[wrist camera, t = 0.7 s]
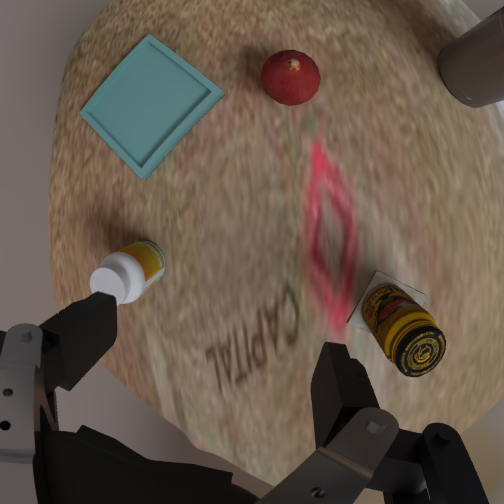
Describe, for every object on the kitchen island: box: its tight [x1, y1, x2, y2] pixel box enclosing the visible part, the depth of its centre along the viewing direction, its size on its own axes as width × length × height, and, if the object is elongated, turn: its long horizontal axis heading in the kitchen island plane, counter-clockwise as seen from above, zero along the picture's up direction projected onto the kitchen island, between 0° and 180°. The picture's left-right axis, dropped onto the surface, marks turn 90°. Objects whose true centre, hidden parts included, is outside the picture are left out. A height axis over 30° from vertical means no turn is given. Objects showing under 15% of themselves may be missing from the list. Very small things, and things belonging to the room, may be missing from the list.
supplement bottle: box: [90, 241, 165, 306], centre depth 30 cm, size 5×5×10 cm
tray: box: [79, 34, 225, 179], centre depth 30 cm, size 13×13×2 cm
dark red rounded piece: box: [261, 50, 321, 106], centre depth 26 cm, size 6×6×8 cm
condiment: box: [347, 271, 446, 377], centre depth 28 cm, size 7×8×12 cm
